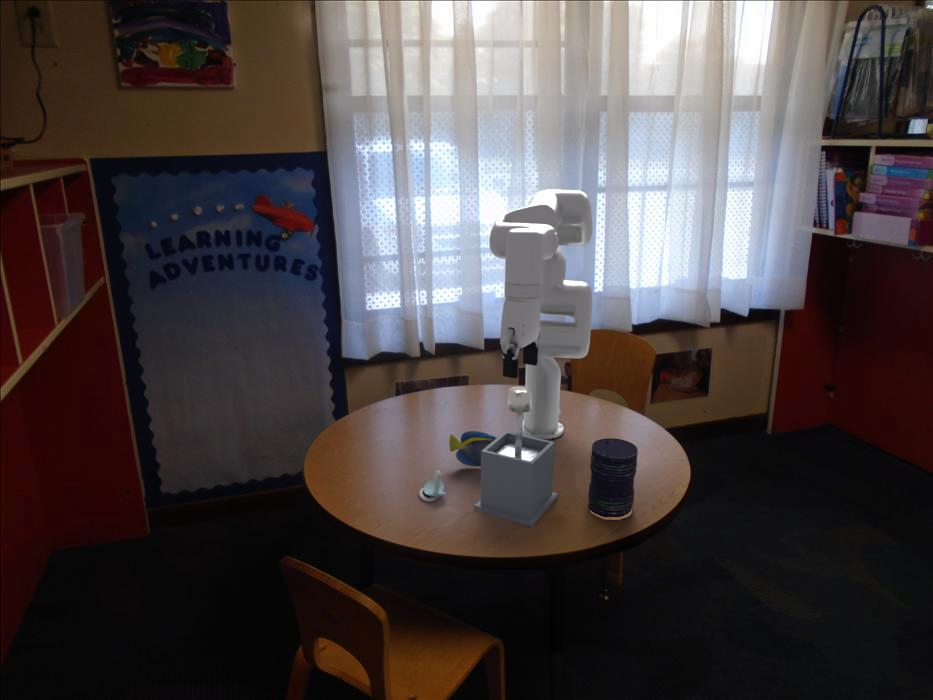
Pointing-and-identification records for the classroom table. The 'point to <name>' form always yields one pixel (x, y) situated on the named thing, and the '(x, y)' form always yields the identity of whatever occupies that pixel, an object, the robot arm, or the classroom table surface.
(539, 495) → the press housing
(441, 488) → the pacifier
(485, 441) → the tropical fish figurine
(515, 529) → the classroom table surface
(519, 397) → the plunger
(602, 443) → the dark blue cylinder
